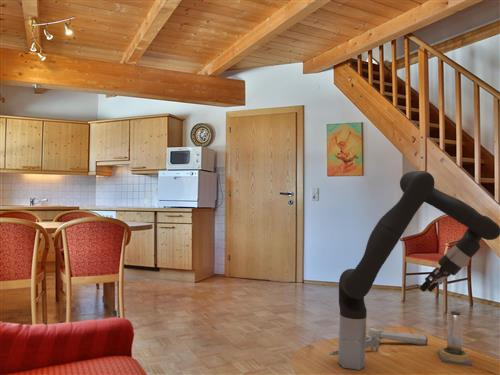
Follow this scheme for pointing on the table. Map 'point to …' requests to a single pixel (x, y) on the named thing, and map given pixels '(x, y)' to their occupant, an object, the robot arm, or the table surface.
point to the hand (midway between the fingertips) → (425, 290)
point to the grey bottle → (455, 333)
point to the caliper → (368, 343)
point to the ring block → (454, 357)
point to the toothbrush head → (397, 336)
